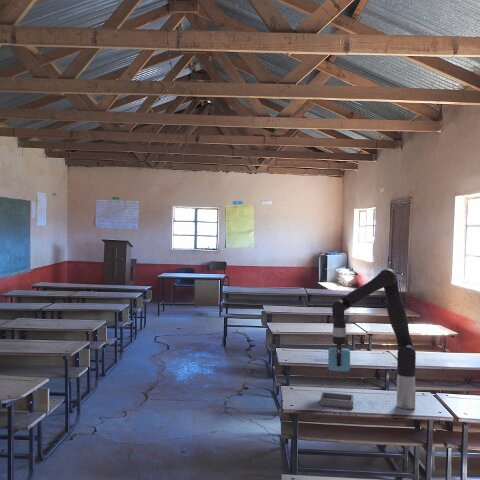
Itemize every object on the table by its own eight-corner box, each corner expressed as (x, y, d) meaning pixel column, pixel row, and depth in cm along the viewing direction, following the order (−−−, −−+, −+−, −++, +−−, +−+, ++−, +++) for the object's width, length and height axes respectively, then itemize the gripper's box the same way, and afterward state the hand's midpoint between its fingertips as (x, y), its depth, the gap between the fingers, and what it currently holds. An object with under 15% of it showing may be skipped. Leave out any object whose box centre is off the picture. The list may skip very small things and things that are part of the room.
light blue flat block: (349, 369, 285) (349, 348, 286) (349, 371, 281) (350, 350, 281) (328, 368, 287) (328, 347, 288) (328, 370, 283) (328, 349, 283)
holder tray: (353, 402, 275) (353, 394, 275) (352, 409, 264) (353, 401, 264) (322, 399, 280) (322, 392, 280) (320, 405, 268) (320, 398, 268)
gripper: (345, 337, 276) (345, 368, 276) (346, 333, 290) (346, 362, 290) (331, 337, 278) (331, 367, 278) (333, 332, 292) (333, 361, 292)
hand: (339, 364), depth 284 cm, fingers closed on light blue flat block, 4 cm apart
